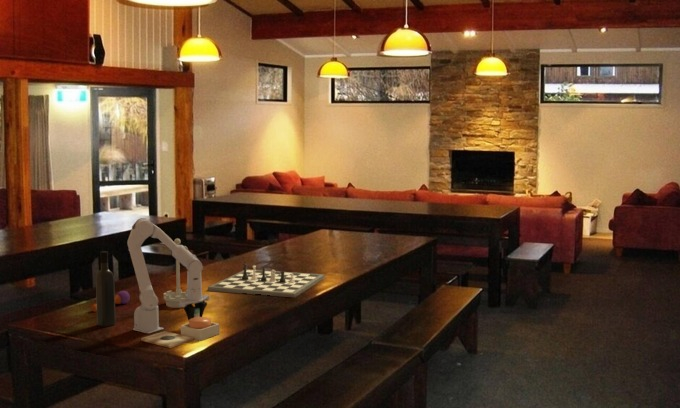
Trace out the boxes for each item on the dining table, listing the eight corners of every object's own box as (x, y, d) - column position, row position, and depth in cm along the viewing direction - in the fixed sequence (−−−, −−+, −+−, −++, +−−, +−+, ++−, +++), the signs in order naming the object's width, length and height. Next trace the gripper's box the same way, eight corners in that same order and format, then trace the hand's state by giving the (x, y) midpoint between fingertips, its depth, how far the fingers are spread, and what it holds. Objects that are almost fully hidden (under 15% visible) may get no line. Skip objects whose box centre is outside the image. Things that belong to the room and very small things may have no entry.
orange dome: (184, 329, 284) (184, 320, 284) (200, 324, 291) (200, 315, 290) (200, 333, 279) (199, 324, 279) (215, 327, 286) (215, 319, 286)
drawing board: (141, 340, 278) (140, 338, 278) (165, 332, 288) (165, 330, 288) (170, 348, 269) (170, 345, 269) (194, 340, 279) (194, 337, 279)
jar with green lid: (188, 326, 298) (188, 309, 297) (195, 323, 301) (195, 307, 300) (195, 327, 295) (194, 310, 295) (202, 325, 298) (201, 308, 298)
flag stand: (186, 308, 324) (185, 241, 321) (158, 307, 327) (157, 240, 323) (198, 301, 337) (196, 236, 333) (171, 300, 340) (169, 235, 336)
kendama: (87, 302, 320) (121, 289, 337) (90, 315, 320) (124, 302, 338) (96, 301, 317) (131, 288, 334) (99, 314, 317) (133, 301, 334)
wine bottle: (108, 322, 303) (106, 249, 299) (116, 324, 299) (114, 251, 296) (96, 325, 298) (93, 251, 295) (104, 327, 295) (101, 253, 291)
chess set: (207, 292, 359) (207, 269, 357) (245, 273, 401) (245, 253, 400) (294, 299, 346) (294, 275, 344) (324, 279, 388) (324, 257, 387)
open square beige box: (180, 335, 284) (180, 325, 284) (200, 329, 292) (200, 319, 292) (200, 340, 278) (200, 330, 278) (219, 334, 287) (219, 324, 286)
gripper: (188, 292, 288) (188, 326, 290) (214, 286, 300) (215, 318, 301) (175, 290, 292) (176, 323, 294) (202, 283, 304) (202, 315, 305)
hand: (195, 321), depth 298 cm, fingers open, 4 cm apart
